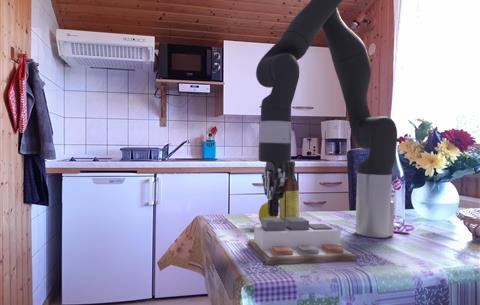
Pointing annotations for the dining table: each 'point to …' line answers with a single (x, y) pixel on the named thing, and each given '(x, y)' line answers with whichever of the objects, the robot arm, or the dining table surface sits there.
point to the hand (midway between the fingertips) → (272, 215)
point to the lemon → (264, 212)
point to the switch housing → (295, 237)
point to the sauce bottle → (289, 194)
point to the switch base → (303, 254)
